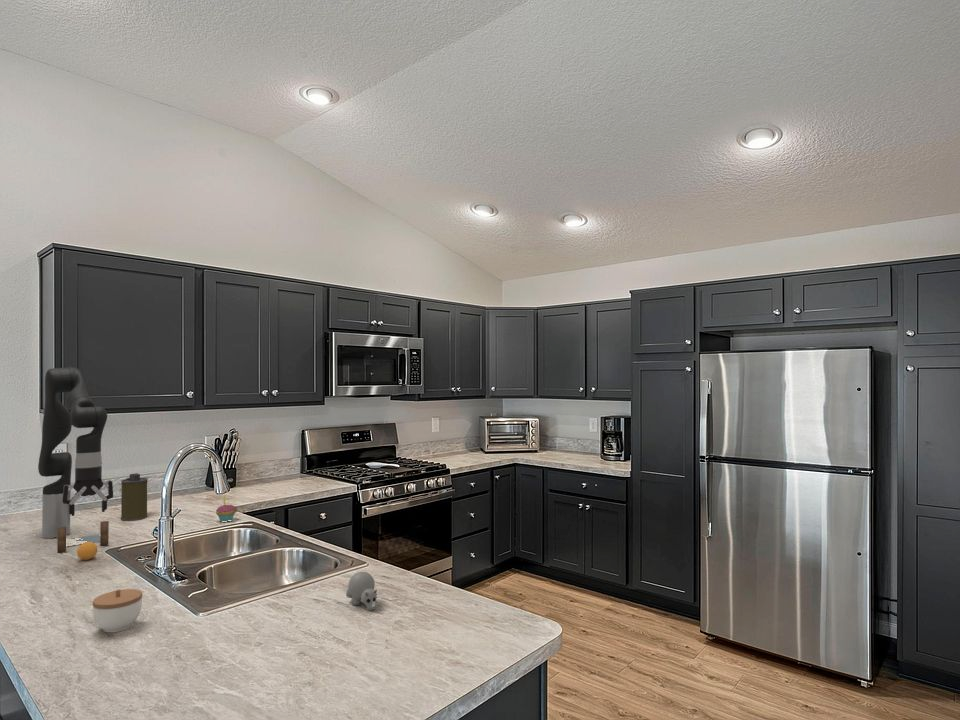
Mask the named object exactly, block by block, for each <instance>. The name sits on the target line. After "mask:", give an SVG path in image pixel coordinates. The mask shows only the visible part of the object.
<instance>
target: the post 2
mask: <svg viewBox="0 0 960 720" xmlns="http://www.w3.org/2000/svg"><path fill="white" fill-rule="evenodd" d="M109 525H110V521H109V520H102V521H100V526H99V528H100V533H99V536H100V542H99V545H100V546H105V547H108V546H109V529H110V527H109Z"/></svg>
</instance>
